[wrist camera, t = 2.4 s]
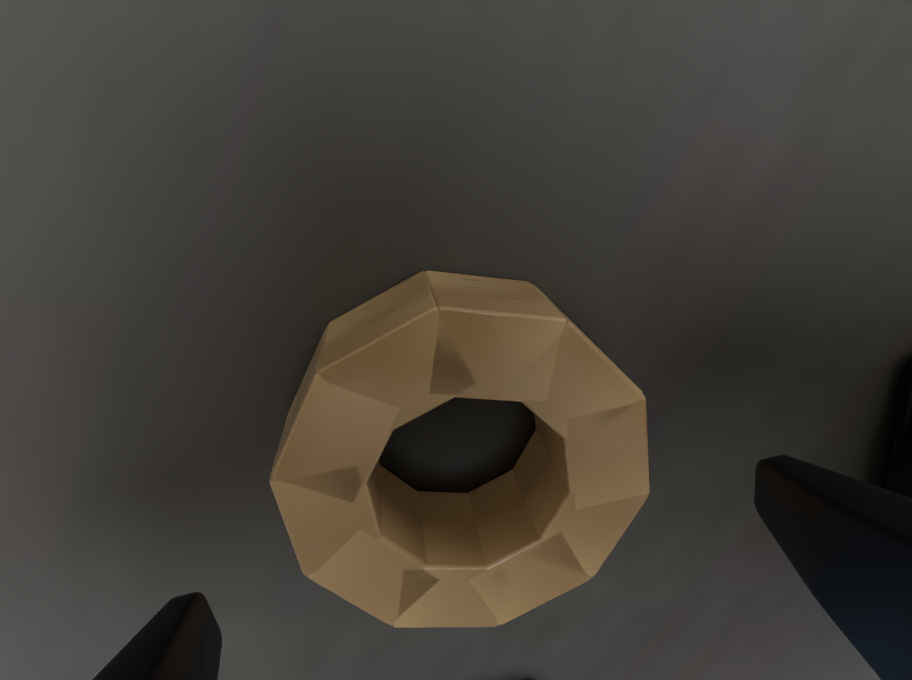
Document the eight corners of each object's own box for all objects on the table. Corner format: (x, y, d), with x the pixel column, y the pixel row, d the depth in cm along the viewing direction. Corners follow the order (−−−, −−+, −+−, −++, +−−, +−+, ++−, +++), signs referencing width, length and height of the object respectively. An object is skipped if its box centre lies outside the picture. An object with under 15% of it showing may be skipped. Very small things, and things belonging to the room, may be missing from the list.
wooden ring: (589, 237, 11) (642, 264, 9) (609, 514, 14) (655, 588, 12) (252, 304, 11) (219, 351, 8) (341, 578, 13) (335, 667, 11)
